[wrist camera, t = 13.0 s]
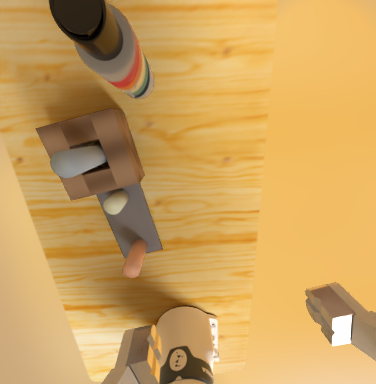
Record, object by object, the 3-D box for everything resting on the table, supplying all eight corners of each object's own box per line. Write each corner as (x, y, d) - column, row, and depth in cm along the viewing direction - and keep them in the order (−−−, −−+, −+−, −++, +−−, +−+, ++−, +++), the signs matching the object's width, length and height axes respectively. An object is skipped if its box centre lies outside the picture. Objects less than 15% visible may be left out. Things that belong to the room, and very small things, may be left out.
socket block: (144, 175, 36) (138, 183, 31) (87, 189, 37) (71, 200, 31) (123, 111, 33) (112, 107, 27) (60, 128, 33) (35, 128, 27)
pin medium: (149, 249, 42) (142, 275, 34) (135, 252, 42) (126, 279, 34) (144, 237, 41) (136, 262, 33) (130, 240, 41) (119, 266, 33)
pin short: (131, 201, 38) (124, 212, 33) (116, 205, 38) (107, 216, 33) (125, 187, 37) (117, 196, 32) (110, 191, 37) (100, 200, 32)
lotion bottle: (120, 96, 32) (35, 47, 13) (121, 58, 30) (24, -64, 11) (153, 102, 32) (117, 62, 13) (155, 65, 31) (119, -41, 12)
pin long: (118, 158, 35) (83, 175, 22) (102, 161, 35) (57, 180, 22) (113, 141, 34) (72, 148, 21) (97, 145, 34) (45, 154, 21)
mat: (162, 248, 42) (162, 249, 42) (125, 257, 42) (124, 258, 42) (138, 179, 37) (138, 179, 36) (95, 190, 37) (95, 190, 37)
